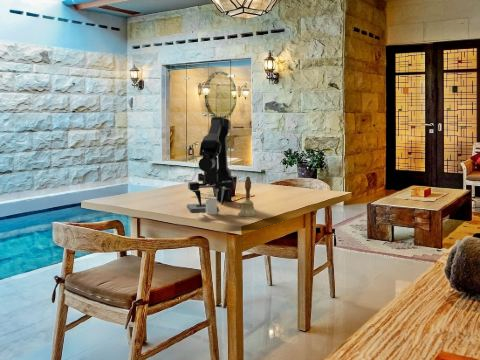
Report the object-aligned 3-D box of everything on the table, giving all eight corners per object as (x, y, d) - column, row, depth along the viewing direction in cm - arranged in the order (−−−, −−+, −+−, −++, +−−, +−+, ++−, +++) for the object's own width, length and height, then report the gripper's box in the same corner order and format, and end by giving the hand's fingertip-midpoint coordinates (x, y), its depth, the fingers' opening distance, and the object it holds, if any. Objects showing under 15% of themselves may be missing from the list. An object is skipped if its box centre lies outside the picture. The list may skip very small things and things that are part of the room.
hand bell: (256, 212, 221) (256, 175, 219) (258, 216, 212) (258, 177, 210) (237, 212, 220) (237, 175, 218) (237, 216, 212) (237, 178, 210)
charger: (215, 212, 222) (214, 198, 221) (216, 213, 218) (216, 199, 217) (205, 212, 221) (205, 198, 220) (207, 214, 217) (207, 200, 217)
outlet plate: (213, 206, 236) (213, 202, 236) (218, 211, 225) (218, 207, 224) (186, 207, 233) (186, 203, 233) (191, 212, 222) (191, 208, 221)
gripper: (228, 166, 227) (228, 201, 229) (185, 167, 223) (186, 203, 225) (234, 168, 217) (234, 205, 219) (189, 170, 212) (190, 207, 214)
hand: (211, 205), depth 219 cm, fingers open, 9 cm apart
